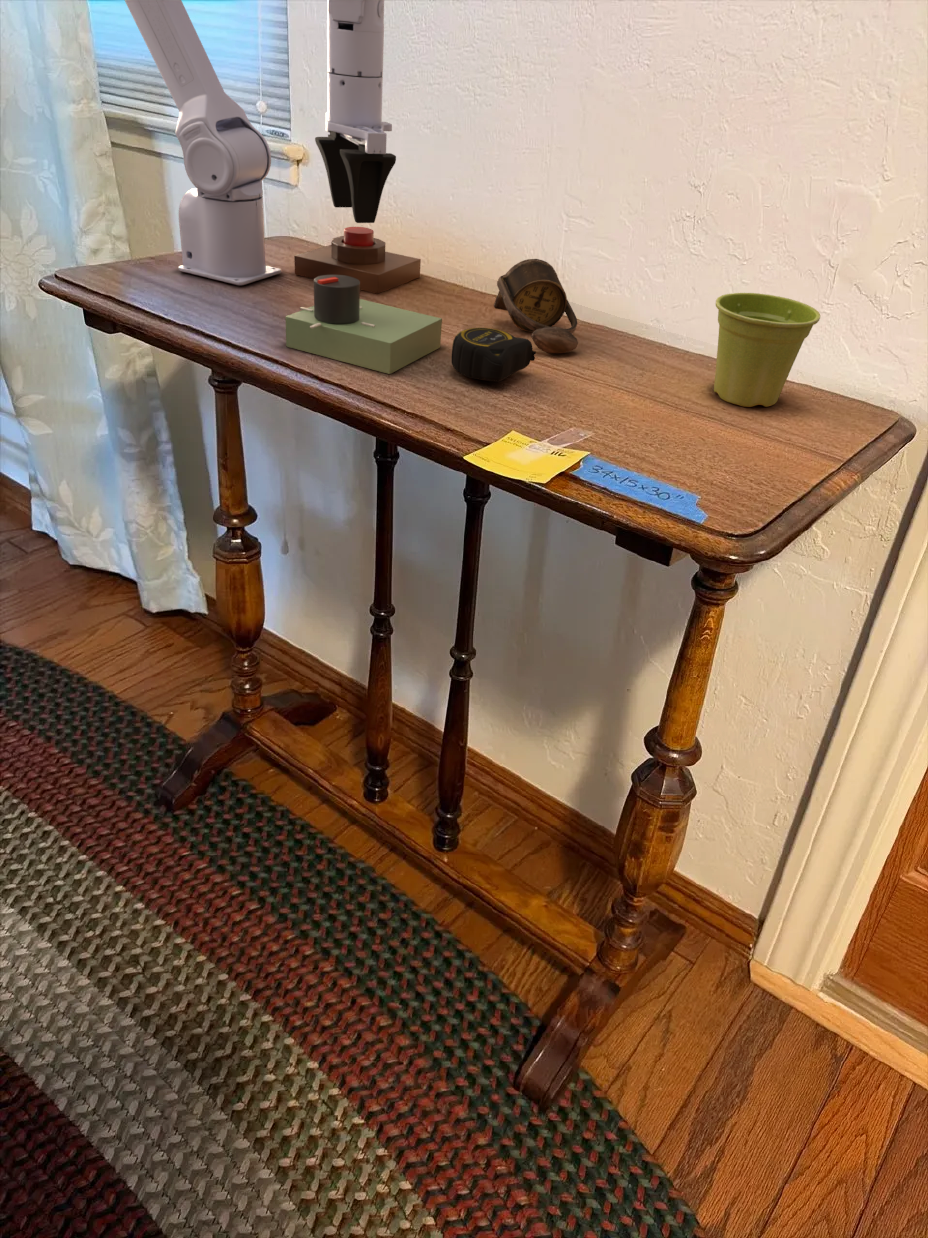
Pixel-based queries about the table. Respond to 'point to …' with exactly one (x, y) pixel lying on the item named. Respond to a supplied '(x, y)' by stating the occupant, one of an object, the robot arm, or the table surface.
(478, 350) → the tape measure
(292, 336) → the dial panel
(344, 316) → the dial knob
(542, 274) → the antique clock
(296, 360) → the table surface
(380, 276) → the button block
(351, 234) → the red button
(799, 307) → the plant pot
